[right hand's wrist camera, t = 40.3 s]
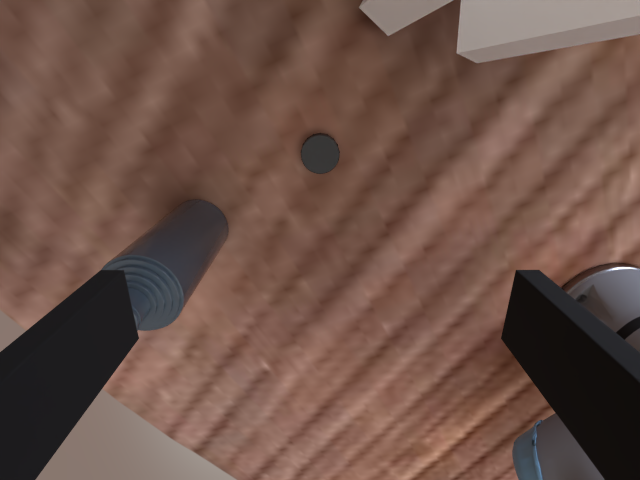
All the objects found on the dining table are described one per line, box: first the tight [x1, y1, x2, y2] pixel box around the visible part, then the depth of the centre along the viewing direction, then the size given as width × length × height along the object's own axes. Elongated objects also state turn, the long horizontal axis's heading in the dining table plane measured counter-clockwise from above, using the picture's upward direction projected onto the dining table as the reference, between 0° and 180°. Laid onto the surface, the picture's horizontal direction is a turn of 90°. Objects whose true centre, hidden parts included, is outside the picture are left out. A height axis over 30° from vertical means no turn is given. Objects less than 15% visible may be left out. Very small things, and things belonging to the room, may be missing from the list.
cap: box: [301, 133, 340, 174], centre depth 43 cm, size 4×4×2 cm
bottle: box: [102, 200, 228, 331], centre depth 38 cm, size 7×7×21 cm
